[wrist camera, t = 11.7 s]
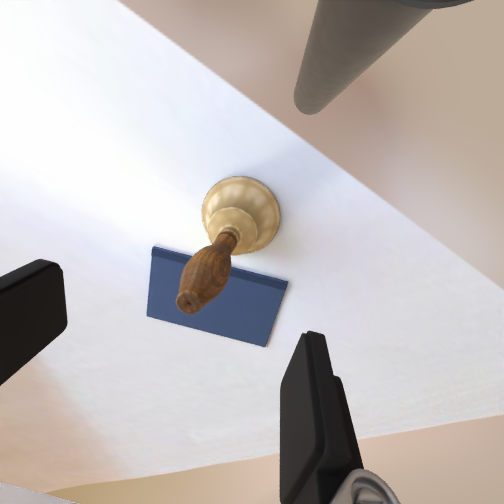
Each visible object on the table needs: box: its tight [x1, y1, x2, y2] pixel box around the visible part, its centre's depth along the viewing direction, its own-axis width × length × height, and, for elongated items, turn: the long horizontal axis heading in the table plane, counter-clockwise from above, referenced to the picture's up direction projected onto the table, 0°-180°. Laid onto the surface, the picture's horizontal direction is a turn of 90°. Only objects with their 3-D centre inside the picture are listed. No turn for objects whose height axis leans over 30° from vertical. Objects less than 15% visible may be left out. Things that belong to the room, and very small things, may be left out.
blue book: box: [147, 247, 288, 347], centre depth 31 cm, size 10×16×1 cm, turn 76°
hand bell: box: [176, 176, 280, 315], centre depth 19 cm, size 8×8×16 cm
